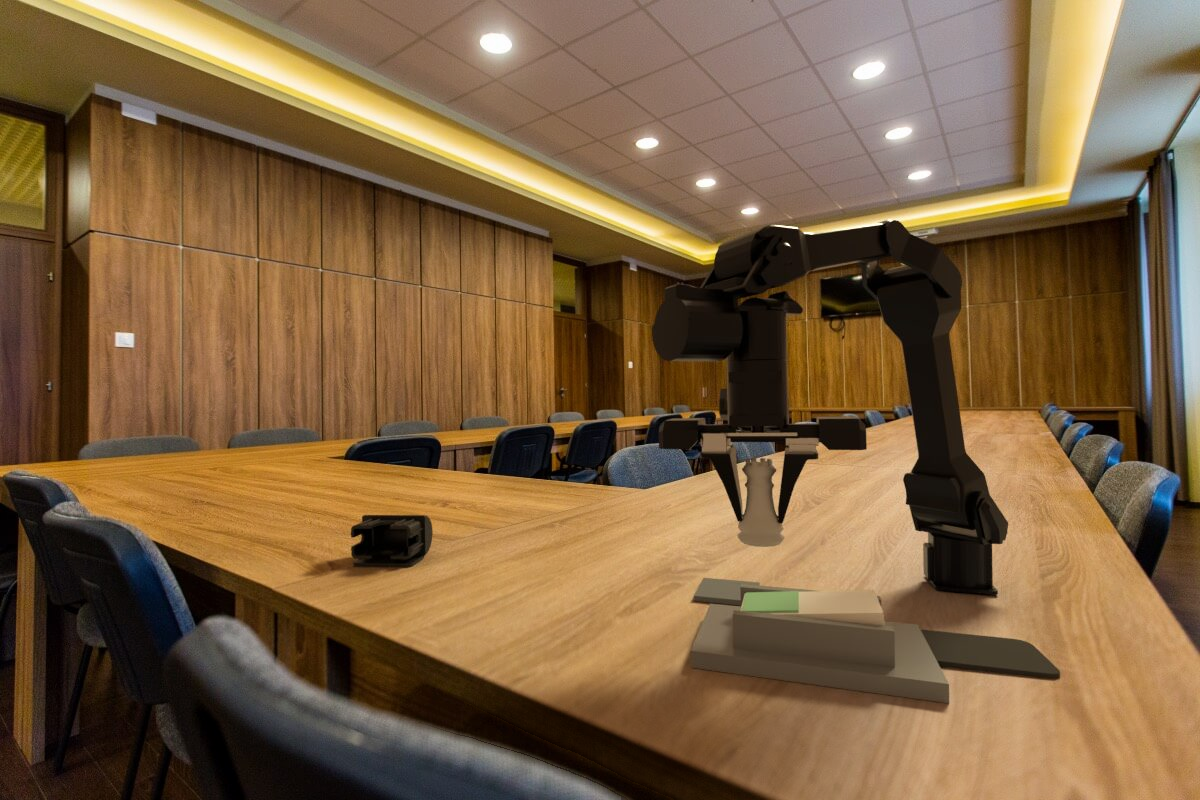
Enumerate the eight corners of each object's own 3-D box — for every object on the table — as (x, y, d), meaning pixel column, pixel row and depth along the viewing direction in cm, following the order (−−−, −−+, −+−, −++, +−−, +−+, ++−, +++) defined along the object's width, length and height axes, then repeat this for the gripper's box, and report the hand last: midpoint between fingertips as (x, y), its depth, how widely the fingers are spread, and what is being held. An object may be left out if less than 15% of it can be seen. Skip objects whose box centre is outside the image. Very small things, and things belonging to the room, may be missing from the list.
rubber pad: (759, 587, 71) (759, 582, 71) (755, 607, 65) (755, 601, 65) (703, 582, 74) (703, 577, 74) (694, 600, 67) (694, 595, 67)
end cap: (433, 554, 89) (432, 511, 89) (414, 568, 82) (413, 521, 82) (372, 553, 90) (372, 511, 90) (348, 567, 83) (347, 521, 83)
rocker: (876, 605, 54) (873, 587, 54) (885, 630, 48) (882, 610, 48) (746, 608, 58) (744, 591, 58) (741, 631, 52) (738, 612, 52)
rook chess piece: (790, 547, 53) (789, 462, 53) (743, 548, 54) (740, 463, 53) (777, 534, 58) (775, 456, 58) (733, 535, 58) (730, 457, 58)
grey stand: (917, 640, 55) (917, 593, 55) (949, 703, 44) (948, 645, 44) (710, 617, 62) (709, 576, 62) (691, 667, 51) (690, 616, 51)
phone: (1066, 676, 47) (868, 653, 52) (1066, 686, 47) (868, 662, 52) (1028, 639, 54) (856, 622, 59) (1028, 648, 54) (856, 630, 59)
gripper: (852, 361, 60) (855, 509, 60) (677, 368, 66) (680, 502, 66) (865, 355, 50) (869, 534, 50) (655, 364, 56) (659, 524, 56)
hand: (760, 521), depth 56 cm, fingers closed on rook chess piece, 3 cm apart
